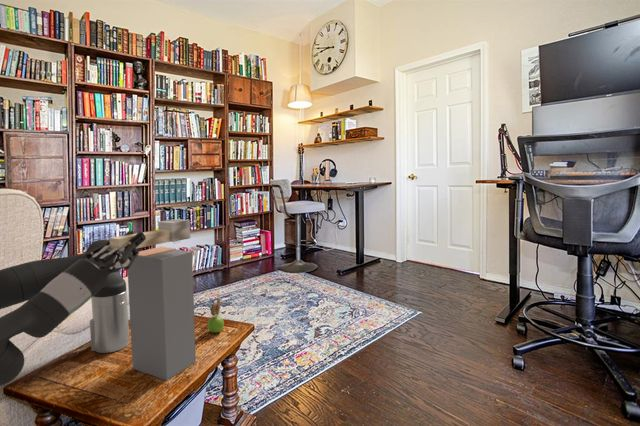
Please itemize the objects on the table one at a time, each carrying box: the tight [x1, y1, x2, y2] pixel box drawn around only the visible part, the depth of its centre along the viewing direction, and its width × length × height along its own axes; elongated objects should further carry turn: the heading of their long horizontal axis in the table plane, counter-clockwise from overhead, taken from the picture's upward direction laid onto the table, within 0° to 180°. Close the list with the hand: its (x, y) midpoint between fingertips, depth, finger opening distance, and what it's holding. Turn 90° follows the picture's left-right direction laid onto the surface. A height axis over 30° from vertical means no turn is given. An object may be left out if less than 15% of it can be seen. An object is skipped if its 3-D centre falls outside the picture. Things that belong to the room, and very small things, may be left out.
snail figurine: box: [206, 293, 225, 334], centre depth 117 cm, size 5×6×12 cm
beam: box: [109, 218, 191, 251], centre depth 87 cm, size 20×5×5 cm, turn 155°
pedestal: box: [126, 246, 197, 381], centre depth 95 cm, size 10×13×32 cm
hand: (137, 234), depth 83 cm, fingers closed on beam, 3 cm apart
